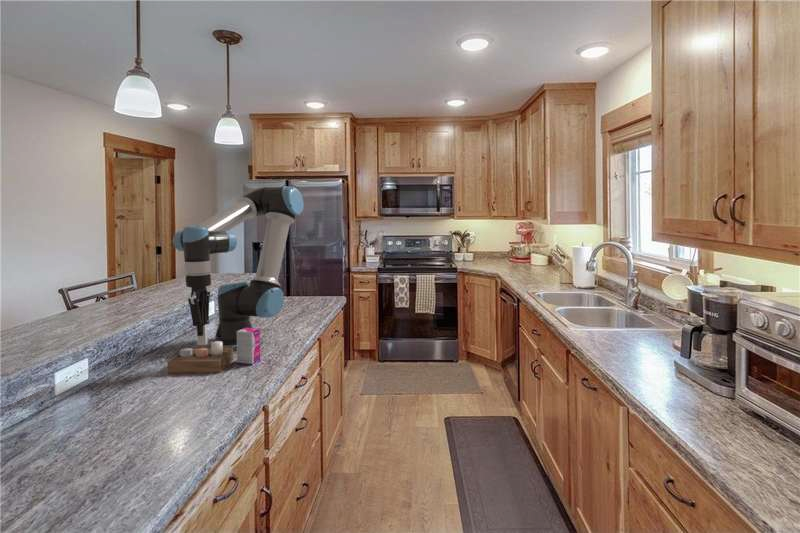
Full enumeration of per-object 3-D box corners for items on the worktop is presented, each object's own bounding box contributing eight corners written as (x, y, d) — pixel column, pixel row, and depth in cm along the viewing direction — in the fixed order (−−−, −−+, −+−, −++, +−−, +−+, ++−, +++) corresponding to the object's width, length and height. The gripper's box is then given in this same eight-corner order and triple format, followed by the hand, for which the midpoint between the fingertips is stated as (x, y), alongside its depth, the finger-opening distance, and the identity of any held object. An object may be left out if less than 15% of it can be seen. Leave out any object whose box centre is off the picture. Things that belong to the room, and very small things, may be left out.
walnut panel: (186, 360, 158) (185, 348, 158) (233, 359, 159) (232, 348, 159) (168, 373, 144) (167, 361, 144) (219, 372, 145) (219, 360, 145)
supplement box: (252, 365, 152) (251, 332, 151) (236, 364, 154) (235, 331, 152) (261, 360, 158) (260, 327, 157) (245, 359, 159) (244, 327, 158)
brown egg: (198, 362, 153) (198, 348, 153) (209, 361, 153) (209, 347, 153) (194, 365, 150) (193, 351, 149) (205, 365, 150) (205, 351, 149)
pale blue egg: (183, 362, 153) (182, 348, 152) (194, 362, 153) (193, 348, 153) (179, 365, 149) (178, 351, 149) (190, 365, 150) (189, 351, 149)
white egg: (213, 355, 153) (213, 341, 153) (224, 354, 154) (224, 341, 153) (209, 358, 150) (209, 344, 149) (221, 358, 150) (220, 343, 149)
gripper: (194, 271, 155) (198, 339, 158) (177, 277, 142) (182, 350, 145) (216, 271, 155) (220, 338, 158) (202, 276, 142) (206, 350, 145)
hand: (202, 344), depth 151 cm, fingers closed
